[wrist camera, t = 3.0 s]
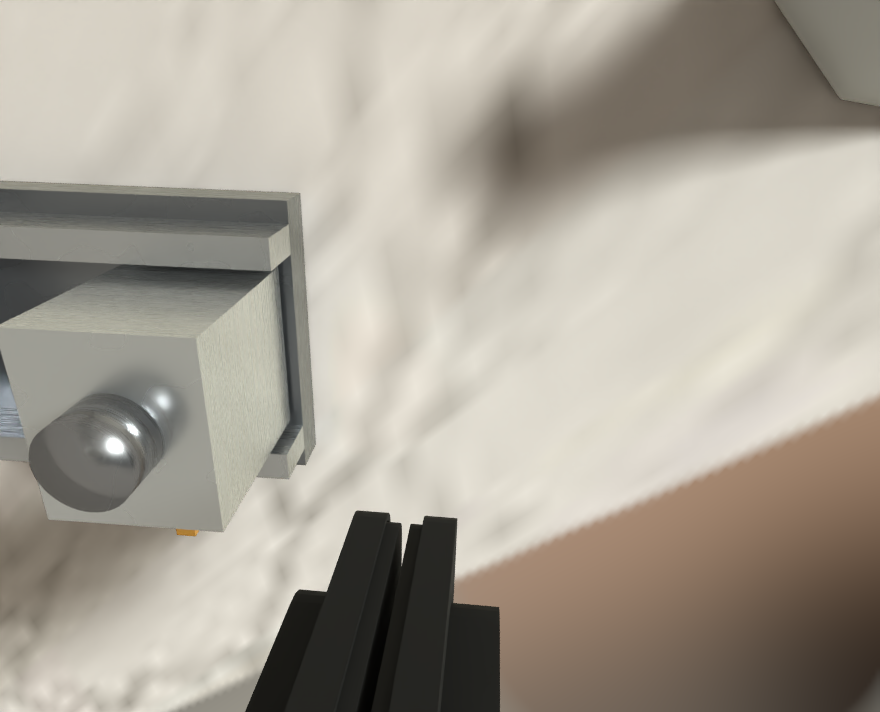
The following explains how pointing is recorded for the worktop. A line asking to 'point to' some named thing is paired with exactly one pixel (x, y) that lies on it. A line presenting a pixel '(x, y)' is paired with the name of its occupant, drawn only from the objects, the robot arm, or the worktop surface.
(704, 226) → the worktop surface
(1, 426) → the base
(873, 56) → the flask
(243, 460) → the knobbed grey cube
